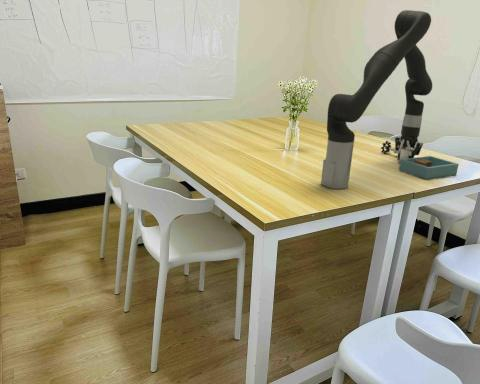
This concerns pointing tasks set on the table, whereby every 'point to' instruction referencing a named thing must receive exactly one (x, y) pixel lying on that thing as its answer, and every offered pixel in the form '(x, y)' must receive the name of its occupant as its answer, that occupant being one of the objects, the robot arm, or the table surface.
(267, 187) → the table surface
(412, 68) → the robot arm
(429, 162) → the walnut cube
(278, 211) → the table surface
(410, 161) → the tote
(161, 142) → the table surface
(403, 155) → the ceramic capsule
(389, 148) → the valve
